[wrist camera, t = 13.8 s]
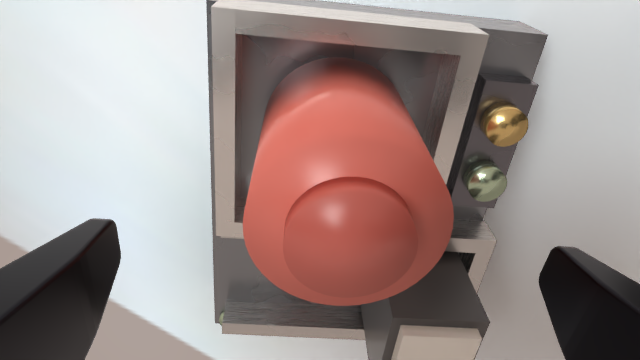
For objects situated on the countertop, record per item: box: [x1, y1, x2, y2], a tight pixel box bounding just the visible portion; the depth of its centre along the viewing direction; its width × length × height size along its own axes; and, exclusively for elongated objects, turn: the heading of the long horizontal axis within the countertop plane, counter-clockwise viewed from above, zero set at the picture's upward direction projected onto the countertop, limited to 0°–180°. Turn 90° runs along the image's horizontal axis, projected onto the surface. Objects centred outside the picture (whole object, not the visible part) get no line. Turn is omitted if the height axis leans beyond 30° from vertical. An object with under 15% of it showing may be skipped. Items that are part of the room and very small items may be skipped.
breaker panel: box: [206, 0, 548, 340], centre depth 16 cm, size 10×13×4 cm
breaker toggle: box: [361, 251, 490, 360], centre depth 16 cm, size 3×4×4 cm
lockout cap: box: [243, 57, 454, 306], centre depth 12 cm, size 5×5×6 cm
